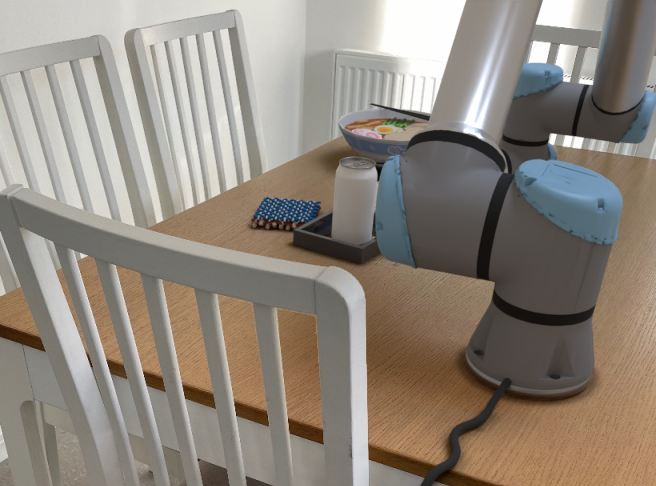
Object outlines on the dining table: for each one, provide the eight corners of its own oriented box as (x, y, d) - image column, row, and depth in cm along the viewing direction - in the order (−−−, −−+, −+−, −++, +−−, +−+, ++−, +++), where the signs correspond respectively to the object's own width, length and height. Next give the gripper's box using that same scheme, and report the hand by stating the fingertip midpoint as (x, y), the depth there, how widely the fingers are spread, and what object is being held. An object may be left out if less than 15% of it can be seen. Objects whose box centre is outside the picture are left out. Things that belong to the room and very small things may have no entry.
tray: (361, 264, 125) (362, 248, 124) (292, 244, 131) (293, 229, 129) (407, 234, 135) (409, 220, 133) (342, 217, 140) (343, 203, 139)
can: (322, 238, 133) (327, 161, 125) (350, 229, 136) (356, 153, 129) (352, 250, 129) (358, 171, 122) (379, 240, 133) (387, 163, 125)
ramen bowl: (307, 158, 165) (309, 115, 160) (383, 138, 177) (387, 96, 172) (402, 191, 151) (407, 144, 146) (477, 166, 163) (485, 122, 158)
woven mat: (261, 206, 144) (261, 194, 143) (321, 211, 143) (322, 199, 141) (249, 228, 136) (249, 215, 135) (312, 233, 135) (313, 221, 133)
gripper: (515, 224, 130) (401, 244, 122) (426, 176, 147) (322, 192, 140) (525, 175, 125) (407, 193, 118) (432, 131, 142) (324, 145, 135)
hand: (360, 192), depth 129 cm, fingers open, 13 cm apart
